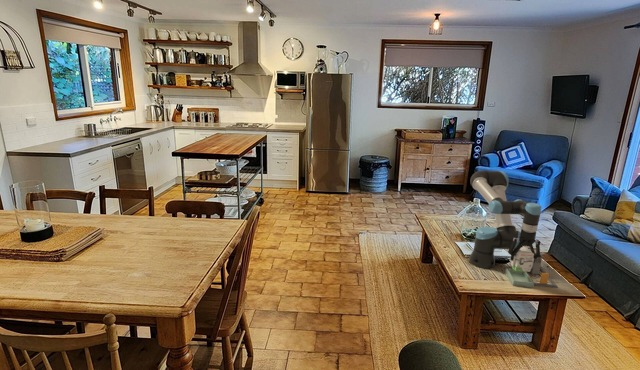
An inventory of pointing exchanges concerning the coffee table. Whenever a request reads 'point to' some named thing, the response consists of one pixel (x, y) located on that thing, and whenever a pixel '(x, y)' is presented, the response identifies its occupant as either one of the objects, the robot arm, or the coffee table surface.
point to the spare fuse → (537, 258)
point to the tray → (519, 278)
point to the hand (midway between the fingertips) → (521, 266)
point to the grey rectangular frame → (542, 276)
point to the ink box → (523, 260)
